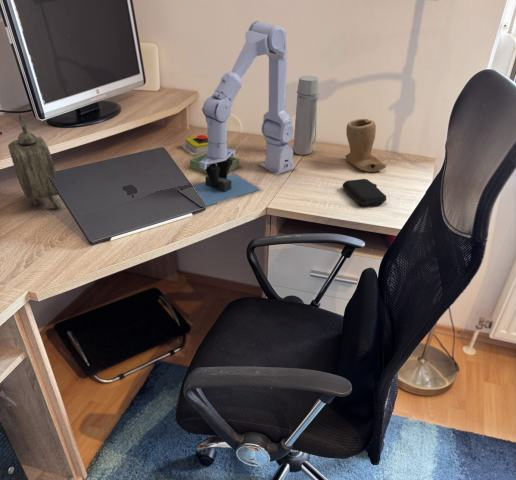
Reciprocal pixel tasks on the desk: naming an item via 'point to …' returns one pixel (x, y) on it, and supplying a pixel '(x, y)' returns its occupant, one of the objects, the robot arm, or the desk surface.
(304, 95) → the water bottle
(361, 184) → the carrying case
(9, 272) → the desk surface
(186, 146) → the emergency button
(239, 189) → the mat
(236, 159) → the caddy
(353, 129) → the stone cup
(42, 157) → the ribbed olive figurine
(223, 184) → the remote
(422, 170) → the desk surface
